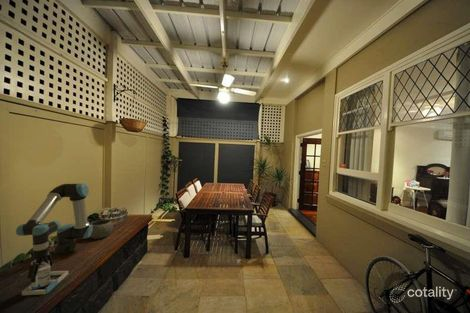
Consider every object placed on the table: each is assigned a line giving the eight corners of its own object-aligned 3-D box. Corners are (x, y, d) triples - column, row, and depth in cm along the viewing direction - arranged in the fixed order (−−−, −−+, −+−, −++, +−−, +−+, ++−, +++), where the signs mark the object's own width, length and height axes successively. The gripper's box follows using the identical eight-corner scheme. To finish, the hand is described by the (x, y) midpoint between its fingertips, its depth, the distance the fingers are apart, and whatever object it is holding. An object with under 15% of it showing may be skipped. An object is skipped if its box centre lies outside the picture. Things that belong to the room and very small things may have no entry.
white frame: (48, 274, 145) (48, 270, 144) (69, 273, 146) (69, 269, 146) (21, 295, 124) (21, 289, 124) (46, 294, 126) (46, 288, 126)
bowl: (117, 232, 219) (117, 219, 219) (100, 241, 197) (100, 227, 196) (100, 230, 223) (100, 217, 223) (81, 239, 201) (81, 225, 200)
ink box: (31, 290, 125) (33, 267, 125) (30, 287, 128) (32, 264, 129) (49, 284, 132) (51, 262, 132) (48, 281, 135) (49, 259, 135)
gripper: (48, 240, 140) (49, 271, 141) (18, 257, 118) (19, 293, 119) (59, 240, 141) (60, 270, 142) (31, 257, 119) (32, 292, 120)
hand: (41, 281), depth 130 cm, fingers closed on ink box, 9 cm apart
